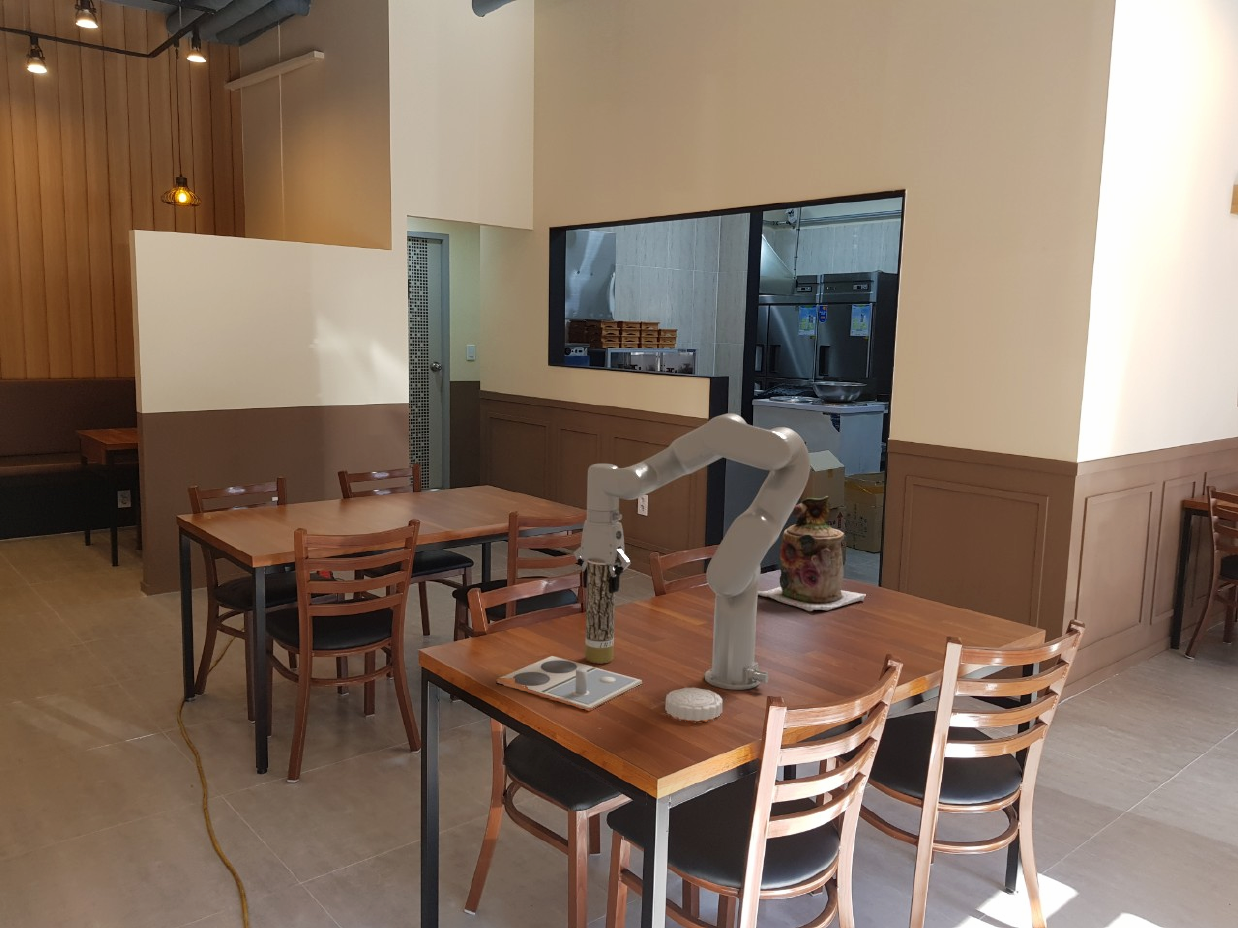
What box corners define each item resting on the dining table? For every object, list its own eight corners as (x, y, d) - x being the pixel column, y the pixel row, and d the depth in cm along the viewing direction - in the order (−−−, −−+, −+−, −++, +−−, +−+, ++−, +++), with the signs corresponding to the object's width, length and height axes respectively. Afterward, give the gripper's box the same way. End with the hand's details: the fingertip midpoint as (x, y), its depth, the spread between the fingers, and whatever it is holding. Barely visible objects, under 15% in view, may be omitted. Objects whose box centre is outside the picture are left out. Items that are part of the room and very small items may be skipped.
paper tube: (580, 661, 231) (582, 560, 227) (593, 653, 237) (596, 554, 233) (604, 666, 228) (607, 563, 224) (618, 658, 234) (620, 558, 230)
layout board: (642, 684, 217) (642, 658, 216) (589, 711, 201) (590, 683, 200) (552, 659, 232) (552, 635, 231) (496, 683, 215) (496, 657, 214)
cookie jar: (804, 583, 309) (809, 485, 304) (868, 601, 290) (875, 497, 286) (752, 595, 293) (757, 492, 289) (816, 615, 274) (822, 505, 270)
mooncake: (654, 714, 201) (655, 697, 200) (683, 697, 211) (683, 681, 210) (705, 728, 194) (705, 711, 194) (732, 709, 204) (732, 693, 204)
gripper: (641, 518, 226) (639, 592, 228) (582, 509, 235) (581, 580, 238) (623, 523, 219) (621, 599, 222) (563, 513, 229) (562, 586, 232)
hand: (600, 588), depth 230 cm, fingers closed on paper tube, 6 cm apart
